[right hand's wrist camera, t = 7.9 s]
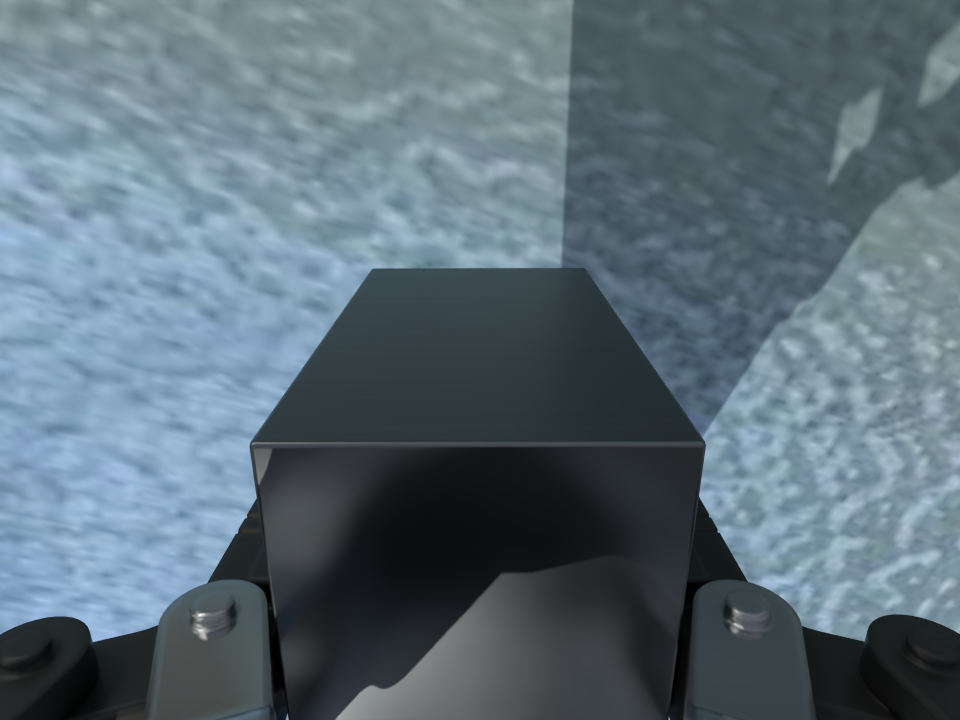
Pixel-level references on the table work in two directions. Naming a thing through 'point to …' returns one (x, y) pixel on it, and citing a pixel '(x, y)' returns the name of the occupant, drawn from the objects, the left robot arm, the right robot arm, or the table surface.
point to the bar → (478, 506)
